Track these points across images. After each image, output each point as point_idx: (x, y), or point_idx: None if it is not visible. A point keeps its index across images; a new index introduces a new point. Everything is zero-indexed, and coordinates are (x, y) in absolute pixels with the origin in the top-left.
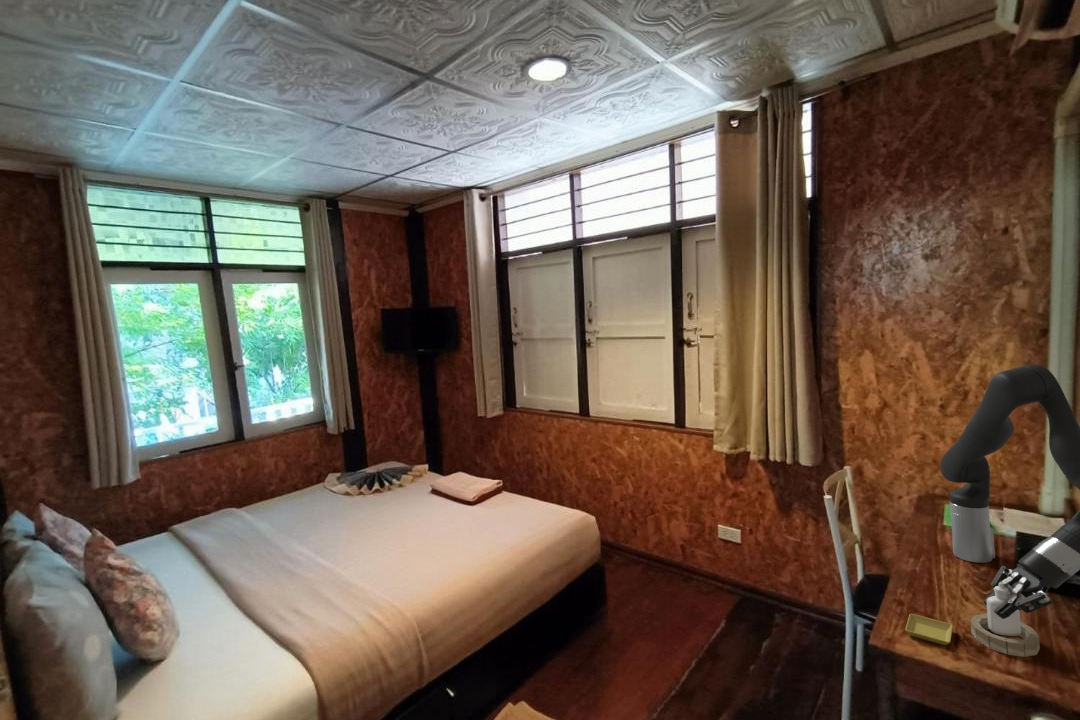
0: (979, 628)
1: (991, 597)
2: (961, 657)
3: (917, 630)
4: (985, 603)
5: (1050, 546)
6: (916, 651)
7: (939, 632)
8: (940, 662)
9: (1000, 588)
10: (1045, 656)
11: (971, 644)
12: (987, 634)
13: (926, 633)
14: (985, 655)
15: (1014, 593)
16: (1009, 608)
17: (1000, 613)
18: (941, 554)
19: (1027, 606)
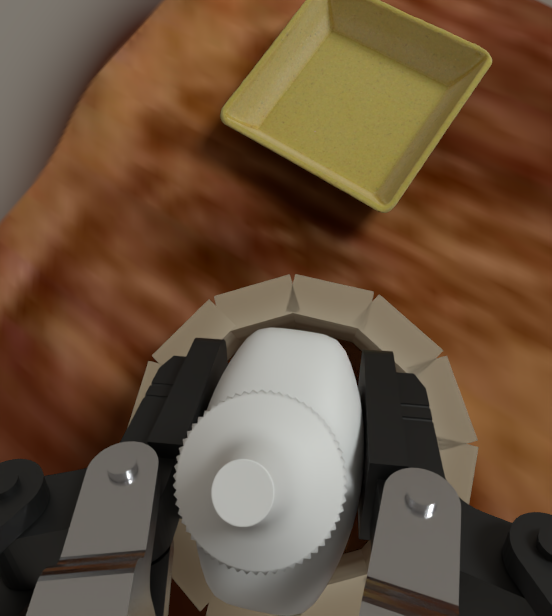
0: (288, 292)
1: (309, 367)
2: (162, 152)
3: (372, 67)
4: (362, 352)
5: None
6: (210, 3)
7: (357, 154)
8: (133, 57)
9: (227, 443)
10: None
11: (261, 250)
12: (224, 298)
13: (345, 93)
14: (172, 261)
15: (89, 563)
16: (132, 429)
17: (173, 358)
18: None
19: (28, 599)
